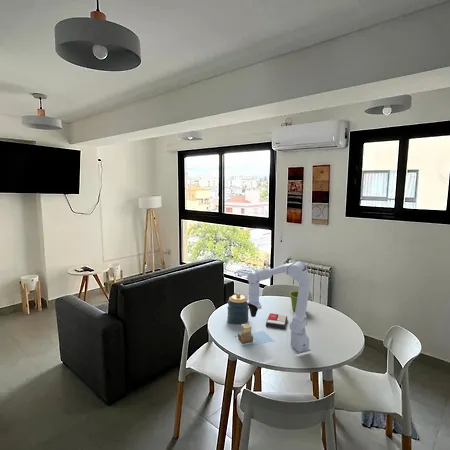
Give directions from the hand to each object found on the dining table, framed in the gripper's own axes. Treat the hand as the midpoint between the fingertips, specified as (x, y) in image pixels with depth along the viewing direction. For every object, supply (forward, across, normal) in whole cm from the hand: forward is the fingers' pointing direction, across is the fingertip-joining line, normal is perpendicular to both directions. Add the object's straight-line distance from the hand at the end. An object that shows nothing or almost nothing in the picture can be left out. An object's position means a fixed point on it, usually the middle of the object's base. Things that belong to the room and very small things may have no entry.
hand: (253, 316), depth 167 cm
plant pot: (+10, -18, +42) cm, 47 cm away
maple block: (+6, +7, -8) cm, 12 cm away
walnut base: (+9, +7, -8) cm, 14 cm away
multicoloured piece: (+11, -5, +19) cm, 22 cm away
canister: (+10, -17, -2) cm, 20 cm away
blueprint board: (+10, +7, -3) cm, 12 cm away
